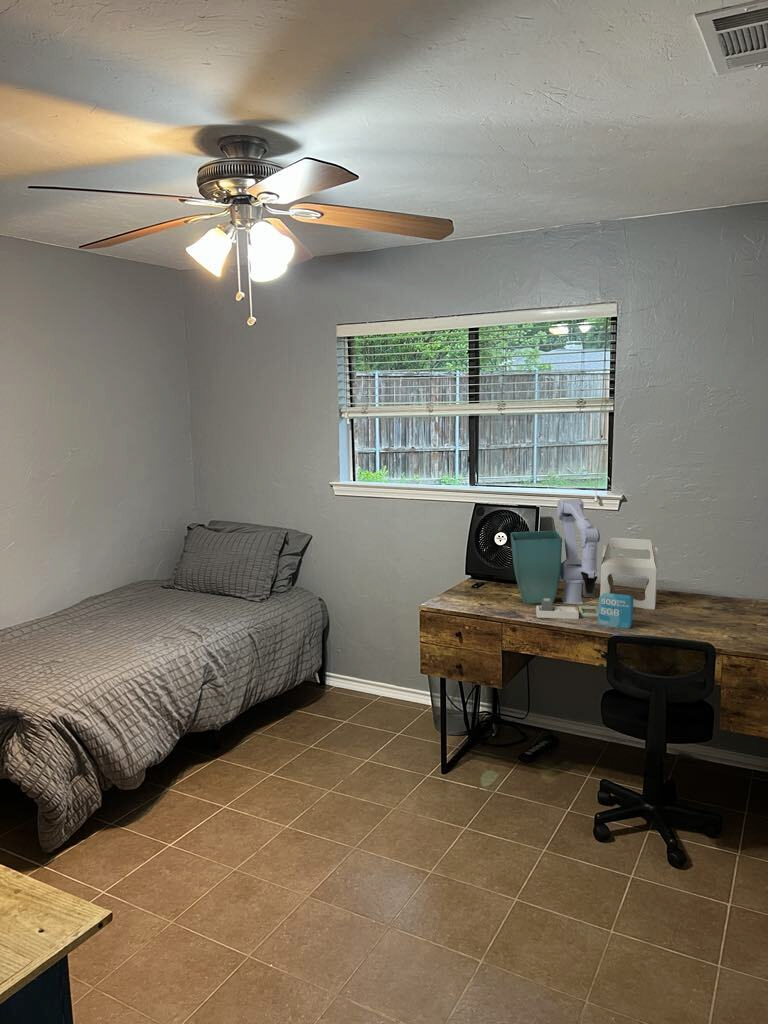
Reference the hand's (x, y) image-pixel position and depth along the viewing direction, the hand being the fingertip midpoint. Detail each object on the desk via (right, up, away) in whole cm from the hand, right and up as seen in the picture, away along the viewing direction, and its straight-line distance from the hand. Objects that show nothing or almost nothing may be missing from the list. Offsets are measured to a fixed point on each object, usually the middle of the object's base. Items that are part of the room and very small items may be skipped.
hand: (588, 591), depth 301 cm
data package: (+6, -12, -14) cm, 19 cm away
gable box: (+21, -7, +17) cm, 28 cm away
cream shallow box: (-13, -10, -1) cm, 16 cm away
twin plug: (-17, -9, -1) cm, 19 cm away
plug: (0, -2, 0) cm, 2 cm away
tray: (+3, -9, +2) cm, 10 cm away
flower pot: (-16, -6, +22) cm, 28 cm away
